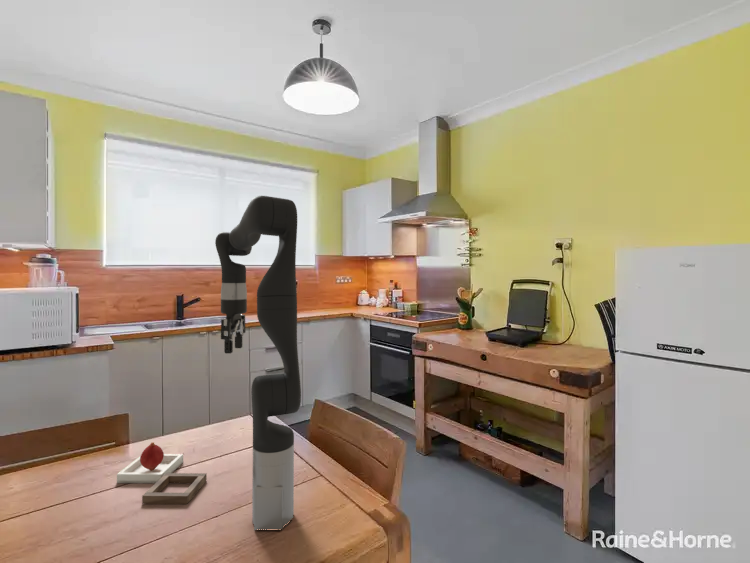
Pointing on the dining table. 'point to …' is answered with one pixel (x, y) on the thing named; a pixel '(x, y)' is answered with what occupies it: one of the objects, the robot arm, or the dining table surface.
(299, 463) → the dining table surface
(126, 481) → the tray
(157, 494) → the frame
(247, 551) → the dining table surface
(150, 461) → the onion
